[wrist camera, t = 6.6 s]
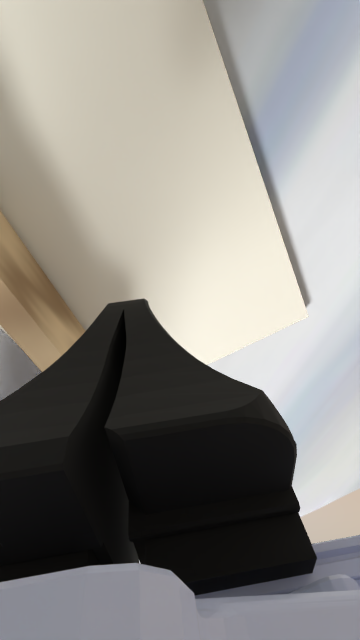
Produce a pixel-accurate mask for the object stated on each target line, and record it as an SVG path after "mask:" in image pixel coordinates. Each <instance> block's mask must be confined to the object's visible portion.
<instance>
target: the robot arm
mask: <svg viewBox="0 0 360 640" xmlns="http://www.w3.org/2000/svg"><path fill="white" fill-rule="evenodd" d="M296 457H297V449H296V443H295V441H294V439H293V436H292V434H291V432H290V430H289V428H288V426H287V424H286V423H285V421H284V419H283V418H282V416H281V415H280V414H279V412H278V411H277V409H276V408H275V406H274V405H273V404H272V402H271V401H270V400H269V398H268V397H267V396H266V394H265V393H264V392H263V391H262V390H260V389H257V388H255V387H252V386H250V385H247V384H245V383H242V382H240V381H237V380H234V379H232V378H230V377H228V376H226V375H224V374H222V373H220V372H218V371H216V370H214V369H212V368H211V367H209V366H207V365H206V364H204V363H203V362H201V361H199V360H198V359H197V358H195V357H194V356H193V355H191V354H190V353H189V352H187V351H186V350H185V349H184V348H183V347H182V346H180V345H179V344H178V343H177V342H176V341H175V340H174V339H173V338H172V337H171V336H170V335H169V334H168V332H167V331H166V330H165V329H164V328H163V327H162V325H161V324H160V323H159V321H158V320H157V319H156V317H155V316H154V314H153V312H152V311H151V309H150V307H149V304H148V301H147V300H146V299H144V298H143V299H136V300H129V301H122V302H114V303H108V304H107V305H106V307H105V308H104V309H103V310H102V312H101V313H100V314H99V315H98V317H97V318H96V319H95V320H94V322H93V323H92V324H91V325H90V327H89V328H88V329H87V330H86V331H85V332H84V334H83V335H82V336H81V337H80V338H79V339H78V340H77V341H76V342H75V343H74V344H73V345H72V346H71V347H70V348H69V349H68V350H67V351H66V352H65V353H64V354H63V355H62V356H61V357H60V358H59V359H58V360H56V361H55V362H54V363H53V364H52V365H50V366H49V367H48V368H47V369H46V370H44V371H43V372H42V373H41V374H39V375H38V376H36V377H35V378H34V379H32V380H31V381H29V382H28V383H27V384H25V385H24V386H22V387H21V388H20V389H18V390H17V391H15V392H14V393H12V394H11V395H9V396H8V397H6V398H5V399H3V400H1V401H0V640H360V535H358V536H352V537H346V538H341V539H336V540H330V541H325V542H320V543H314V544H311V542H310V540H309V537H308V535H307V532H306V530H305V528H304V525H303V523H302V521H301V519H300V516H299V513H298V512H299V510H300V506H299V502H298V500H297V497H296V495H295V493H294V490H293V488H292V480H293V474H294V469H295V463H296ZM139 560H140V563H141V564H139Z"/></svg>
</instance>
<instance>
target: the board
mask: <svg viewBox="0 0 360 640" xmlns="http://www.w3.org/2000/svg"><path fill="white" fill-rule="evenodd" d="M0 211H1V212H2V214H3V215H4V216H5V218H6V219H7V221H8V222H9V223H10V225H11V226H12V228H13V229H14V231H15V232H16V233H17V235H18V236H19V238H20V239H21V240H22V242H23V243H24V245H25V246H26V248H27V249H28V250H29V252H30V253H31V255H32V256H33V257H34V259H35V260H36V262H37V263H38V265H39V266H40V267H41V269H42V270H43V272H44V273H45V274H46V276H47V277H48V279H49V280H50V282H51V283H52V284H53V286H54V287H55V289H56V290H57V291H58V293H59V294H60V296H61V297H62V299H63V300H64V301H65V303H66V304H67V306H68V307H69V309H70V310H71V311H72V313H73V314H74V316H75V317H76V318H77V320H78V321H79V323H80V324H81V326H82V327H83V328H84V330H85V331H86V330H87V329H88V328H89V327H90V325H91V324H92V323H93V322H94V320H95V319H96V318H97V317H98V315H99V314H100V313H101V312H102V310H103V309H104V308H105V307H106V305H107V304H108V303H114V302H122V301H129V300H136V299H143V298H144V299H146V300H147V301H148V304H149V307H150V309H151V311H152V312H153V314H154V316H155V317H156V319H157V320H158V321H159V323H160V324H161V325H162V327H163V328H164V329H165V330H166V331H167V332H168V334H169V335H170V336H171V337H172V338H173V339H174V340H175V341H176V342H177V343H178V344H179V345H180V346H182V347H183V348H184V349H185V350H186V351H187V352H189V353H190V354H191V355H193V356H194V357H195V358H197V359H198V360H199V361H201V362H203V363H204V364H206V365H208V364H210V363H212V362H214V361H217V360H219V359H221V358H223V357H225V356H227V355H229V354H231V353H233V352H236V351H238V350H240V349H242V348H244V347H246V346H248V345H250V344H252V343H254V342H257V341H259V340H261V339H263V338H265V337H267V336H269V335H271V334H273V333H276V332H278V331H280V330H282V329H284V328H286V327H288V326H290V325H292V324H294V323H297V322H299V321H301V320H303V319H305V318H307V317H309V316H308V313H307V310H306V307H305V304H304V301H303V298H302V295H301V292H300V289H299V286H298V283H297V280H296V277H295V274H294V271H293V268H292V265H291V262H290V259H289V256H288V253H287V250H286V247H285V244H284V241H283V238H282V235H281V232H280V229H279V226H278V223H277V220H276V217H275V214H274V211H273V208H272V205H271V202H270V199H269V196H268V194H267V191H266V188H265V185H264V182H263V179H262V176H261V173H260V170H259V167H258V164H257V161H256V158H255V155H254V152H253V149H252V146H251V143H250V140H249V137H248V134H247V131H246V128H245V125H244V122H243V119H242V116H241V113H240V110H239V107H238V104H237V101H236V98H235V95H234V92H233V89H232V86H231V83H230V80H229V77H228V74H227V71H226V68H225V65H224V62H223V59H222V56H221V53H220V50H219V47H218V44H217V41H216V38H215V35H214V32H213V29H212V26H211V23H210V20H209V17H208V14H207V11H206V8H205V5H204V2H203V0H0ZM0 328H1V329H2V330H3V331H4V332H5V333H6V334H7V335H8V336H9V337H10V335H9V334H8V333H7V332H6V331H5V330H4V329H3V327H2V326H1V325H0ZM10 338H11V337H10ZM11 339H12V338H11ZM12 340H13V339H12ZM13 341H14V340H13ZM14 342H15V341H14Z"/></svg>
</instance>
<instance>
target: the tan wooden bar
mask: <svg viewBox="0 0 360 640" xmlns="http://www.w3.org/2000/svg"><path fill="white" fill-rule="evenodd" d="M0 325H1V326H2V327H3V329H4V330H5V331H6V332H7V333H8V334H9V335H10V337H11V338H12V339H13V340H14V341H15V342H16V343H17V344H18V346H19V347H20V348H21V349H22V350H23V351H24V352H25V353H26V355H27V356H28V357H29V358H30V359H31V360H32V361H33V363H34V364H35V365H36V366H37V367H38V368H39V369H40V370H41V372H43V371H44V370H46V369H47V368H48V367H49V366H50V365H52V364H53V363H54V362H55V361H56V360H58V359H59V358H60V357H61V356H62V355H63V354H64V353H65V352H66V351H67V350H68V349H69V348H70V347H71V346H72V345H73V344H74V343H75V342H76V341H77V340H78V339H79V338H80V337H81V336H82V335H83V334H84V332H85V330H84V328H83V327H82V326H81V324H80V323H79V321H78V320H77V318H76V317H75V316H74V314H73V313H72V311H71V310H70V309H69V307H68V306H67V304H66V303H65V301H64V300H63V299H62V297H61V296H60V294H59V293H58V291H57V290H56V289H55V287H54V286H53V284H52V283H51V282H50V280H49V279H48V277H47V276H46V274H45V273H44V272H43V270H42V269H41V267H40V266H39V265H38V263H37V262H36V260H35V259H34V257H33V256H32V255H31V253H30V252H29V250H28V249H27V248H26V246H25V245H24V243H23V242H22V240H21V239H20V238H19V236H18V235H17V233H16V232H15V231H14V229H13V228H12V226H11V225H10V223H9V222H8V221H7V219H6V218H5V216H4V215H3V214H2V212H1V211H0Z"/></svg>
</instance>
